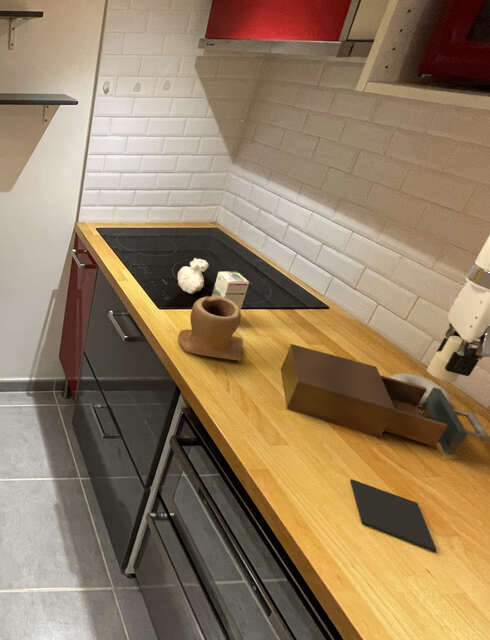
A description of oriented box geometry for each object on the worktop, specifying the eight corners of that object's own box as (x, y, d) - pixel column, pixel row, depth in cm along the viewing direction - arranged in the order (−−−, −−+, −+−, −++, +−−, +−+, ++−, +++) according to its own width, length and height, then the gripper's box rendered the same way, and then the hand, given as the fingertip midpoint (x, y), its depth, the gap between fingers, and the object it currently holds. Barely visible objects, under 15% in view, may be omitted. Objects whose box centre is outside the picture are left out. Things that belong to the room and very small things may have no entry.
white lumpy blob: (196, 304, 138) (226, 279, 134) (180, 290, 136) (210, 265, 133) (180, 284, 149) (207, 261, 145) (165, 271, 147) (192, 248, 144)
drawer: (459, 418, 93) (473, 397, 91) (489, 467, 82) (505, 444, 80) (343, 385, 102) (353, 365, 99) (356, 425, 91) (367, 403, 89)
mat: (415, 505, 76) (417, 502, 76) (435, 552, 69) (436, 550, 69) (349, 481, 80) (351, 478, 80) (361, 523, 73) (363, 521, 73)
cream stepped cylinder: (451, 372, 86) (471, 338, 82) (459, 384, 82) (481, 349, 79) (423, 365, 87) (442, 331, 84) (430, 377, 84) (450, 342, 81)
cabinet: (362, 393, 101) (376, 366, 98) (379, 438, 89) (395, 409, 86) (280, 369, 108) (290, 343, 105) (286, 408, 96) (298, 381, 93)
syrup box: (236, 327, 123) (251, 281, 117) (214, 326, 124) (228, 281, 118) (225, 315, 129) (239, 271, 123) (205, 315, 129) (217, 270, 123)
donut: (391, 402, 99) (454, 420, 94) (397, 390, 97) (461, 408, 92) (381, 376, 106) (438, 391, 102) (387, 364, 105) (445, 379, 100)
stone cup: (180, 359, 110) (195, 308, 104) (175, 332, 121) (188, 284, 115) (249, 373, 106) (269, 321, 100) (238, 344, 116) (254, 295, 110)
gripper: (561, 309, 68) (500, 401, 75) (509, 266, 81) (461, 347, 88) (492, 295, 71) (440, 384, 79) (452, 256, 84) (411, 335, 92)
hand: (451, 364), depth 84 cm, fingers closed on cream stepped cylinder, 4 cm apart
